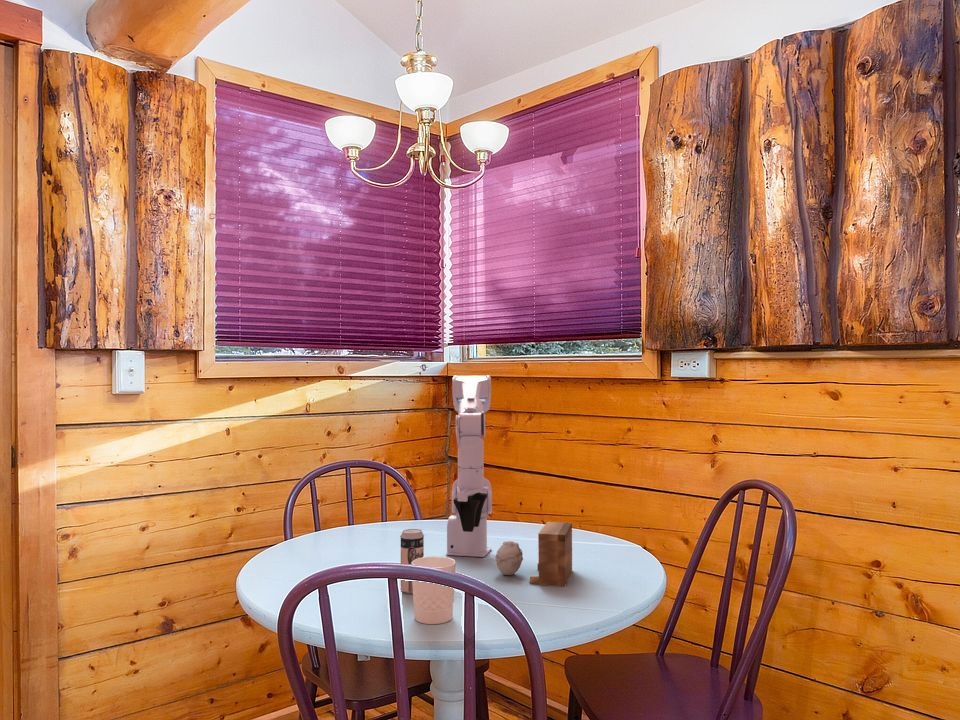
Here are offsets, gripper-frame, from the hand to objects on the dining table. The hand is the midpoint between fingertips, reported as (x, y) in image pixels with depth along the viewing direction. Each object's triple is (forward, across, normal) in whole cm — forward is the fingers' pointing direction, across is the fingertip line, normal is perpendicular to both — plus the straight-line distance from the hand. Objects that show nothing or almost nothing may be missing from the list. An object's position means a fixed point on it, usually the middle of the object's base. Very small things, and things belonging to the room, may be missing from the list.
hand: (471, 528), depth 156 cm
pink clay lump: (+10, 0, -8) cm, 13 cm away
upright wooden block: (+9, 0, -18) cm, 20 cm away
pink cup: (+10, -30, -1) cm, 32 cm away
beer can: (+10, -16, +8) cm, 20 cm away
